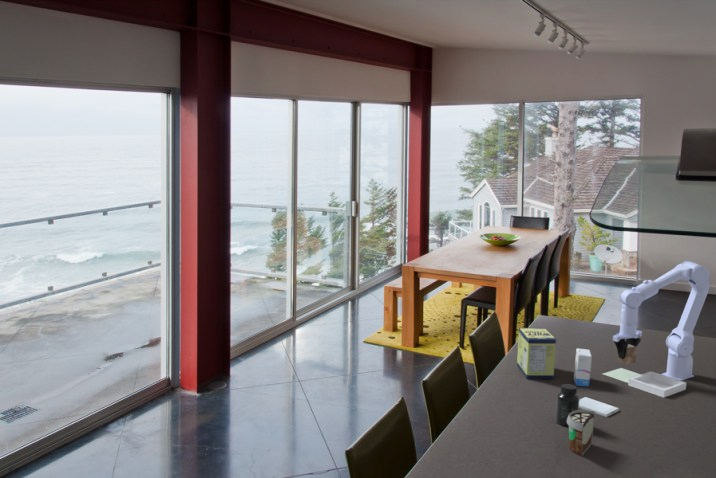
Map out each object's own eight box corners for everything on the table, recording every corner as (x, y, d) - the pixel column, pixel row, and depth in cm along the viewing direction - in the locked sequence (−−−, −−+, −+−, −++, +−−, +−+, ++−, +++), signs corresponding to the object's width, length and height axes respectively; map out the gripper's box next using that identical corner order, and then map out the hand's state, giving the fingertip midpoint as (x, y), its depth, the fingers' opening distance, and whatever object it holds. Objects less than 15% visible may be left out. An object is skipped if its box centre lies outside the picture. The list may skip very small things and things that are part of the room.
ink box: (590, 387, 257) (592, 355, 255) (575, 386, 258) (577, 354, 256) (587, 379, 265) (589, 348, 263) (573, 377, 266) (575, 347, 264)
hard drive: (572, 402, 240) (606, 413, 231) (585, 396, 245) (619, 407, 236) (572, 407, 240) (606, 418, 231) (585, 401, 245) (619, 412, 236)
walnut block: (625, 358, 270) (626, 343, 269) (635, 362, 267) (636, 346, 266) (617, 360, 268) (618, 345, 267) (627, 364, 264) (629, 348, 263)
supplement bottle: (558, 416, 231) (560, 381, 229) (579, 421, 227) (582, 385, 225) (552, 423, 225) (555, 387, 223) (574, 428, 221) (577, 392, 219)
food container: (572, 437, 215) (574, 405, 214) (593, 442, 212) (595, 410, 210) (558, 451, 205) (561, 419, 204) (580, 457, 202) (582, 424, 200)
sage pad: (621, 369, 276) (621, 367, 276) (646, 377, 268) (646, 376, 268) (602, 375, 270) (602, 373, 269) (627, 384, 261) (627, 382, 261)
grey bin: (650, 379, 266) (650, 371, 266) (685, 390, 255) (686, 382, 255) (628, 386, 258) (628, 378, 258) (663, 398, 247) (664, 390, 247)
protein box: (542, 365, 280) (544, 327, 277) (554, 379, 264) (556, 339, 262) (516, 365, 279) (518, 327, 277) (526, 379, 264) (528, 339, 261)
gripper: (625, 327, 258) (622, 363, 260) (650, 322, 266) (647, 357, 268) (609, 322, 264) (606, 357, 266) (633, 317, 272) (631, 351, 274)
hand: (625, 357), depth 267 cm, fingers closed on walnut block, 4 cm apart
